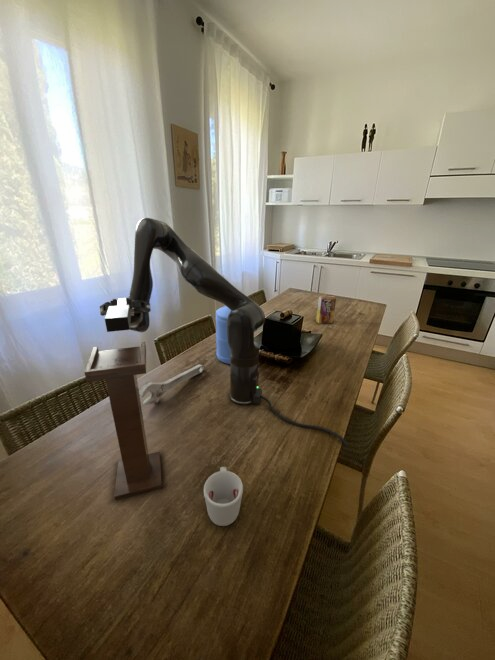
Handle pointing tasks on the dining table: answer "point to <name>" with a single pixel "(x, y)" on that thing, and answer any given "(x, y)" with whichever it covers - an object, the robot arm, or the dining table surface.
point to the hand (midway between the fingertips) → (121, 302)
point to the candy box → (326, 309)
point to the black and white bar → (118, 316)
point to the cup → (223, 496)
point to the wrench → (167, 385)
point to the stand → (127, 417)
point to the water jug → (222, 335)
